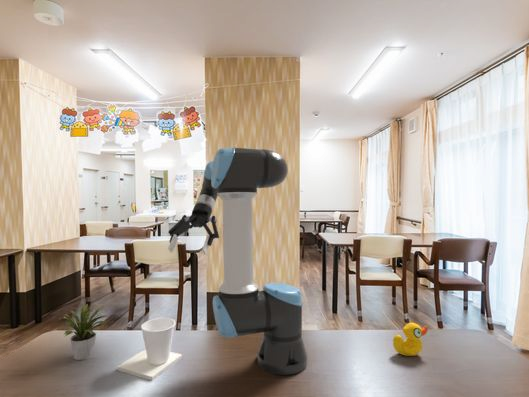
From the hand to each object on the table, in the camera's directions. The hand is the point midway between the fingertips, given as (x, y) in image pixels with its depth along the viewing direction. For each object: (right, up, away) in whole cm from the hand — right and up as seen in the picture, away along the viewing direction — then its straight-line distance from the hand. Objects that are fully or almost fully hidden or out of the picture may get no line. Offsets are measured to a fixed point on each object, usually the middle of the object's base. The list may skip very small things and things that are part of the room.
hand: (186, 251), depth 118 cm
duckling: (+75, -31, -15) cm, 83 cm away
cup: (-3, -30, -21) cm, 37 cm away
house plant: (-28, -30, -18) cm, 45 cm away
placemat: (-6, -30, -21) cm, 37 cm away
